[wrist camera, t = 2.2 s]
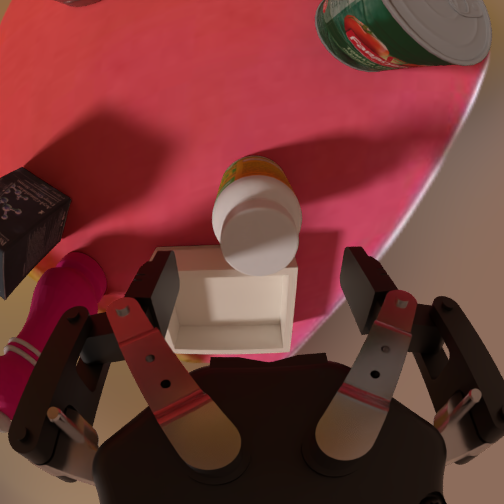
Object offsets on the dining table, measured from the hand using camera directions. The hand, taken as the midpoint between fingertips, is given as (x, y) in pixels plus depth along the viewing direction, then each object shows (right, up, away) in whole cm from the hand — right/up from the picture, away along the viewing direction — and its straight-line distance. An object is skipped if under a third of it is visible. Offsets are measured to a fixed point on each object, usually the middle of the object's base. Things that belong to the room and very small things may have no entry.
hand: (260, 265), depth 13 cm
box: (-22, +6, +9) cm, 25 cm away
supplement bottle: (0, +6, +10) cm, 11 cm away
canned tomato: (+8, +18, +2) cm, 20 cm away
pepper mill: (-19, -2, +14) cm, 24 cm away
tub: (-3, -3, +15) cm, 15 cm away
